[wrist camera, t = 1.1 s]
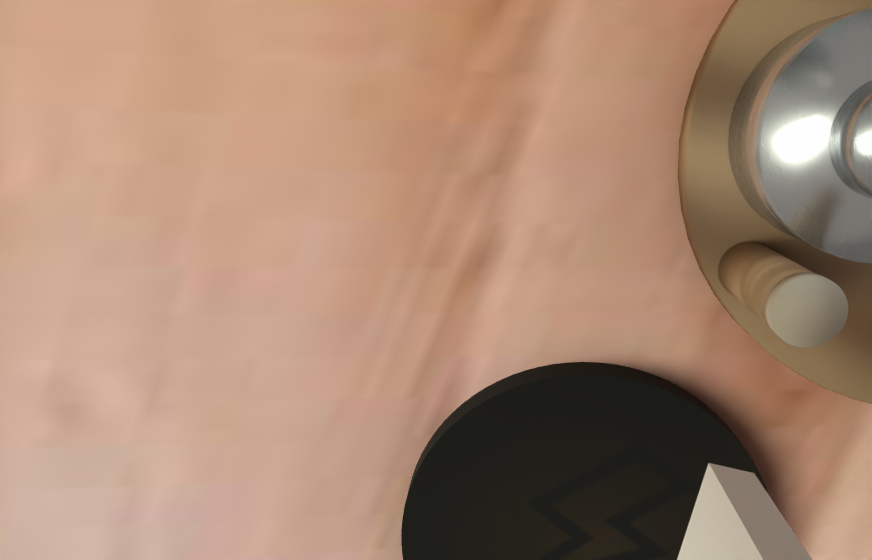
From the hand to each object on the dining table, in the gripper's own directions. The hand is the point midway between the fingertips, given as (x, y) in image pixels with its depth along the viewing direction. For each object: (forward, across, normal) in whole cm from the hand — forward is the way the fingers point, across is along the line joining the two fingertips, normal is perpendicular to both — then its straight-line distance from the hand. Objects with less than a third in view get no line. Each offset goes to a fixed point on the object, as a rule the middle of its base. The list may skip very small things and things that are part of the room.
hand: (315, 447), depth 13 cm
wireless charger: (+23, +10, -14) cm, 29 cm away
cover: (+20, +16, +8) cm, 27 cm away
